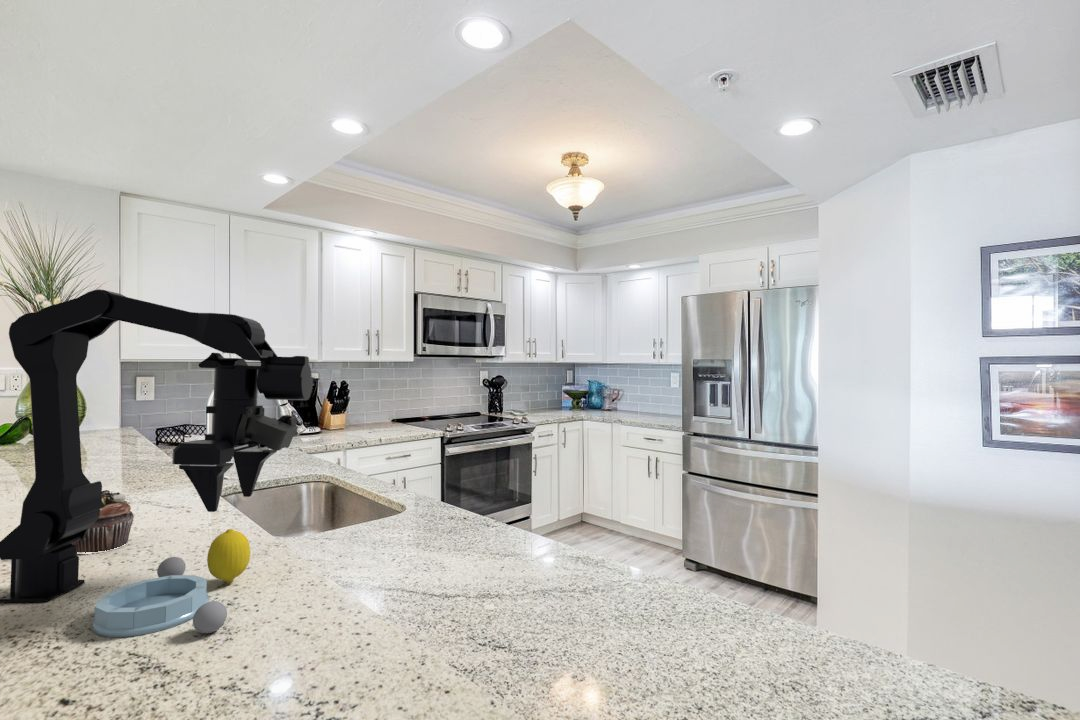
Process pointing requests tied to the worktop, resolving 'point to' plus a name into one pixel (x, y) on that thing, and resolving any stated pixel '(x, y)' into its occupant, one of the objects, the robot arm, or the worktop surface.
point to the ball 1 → (171, 567)
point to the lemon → (228, 555)
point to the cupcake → (108, 525)
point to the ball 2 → (209, 617)
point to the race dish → (149, 605)
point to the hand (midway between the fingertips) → (230, 503)
